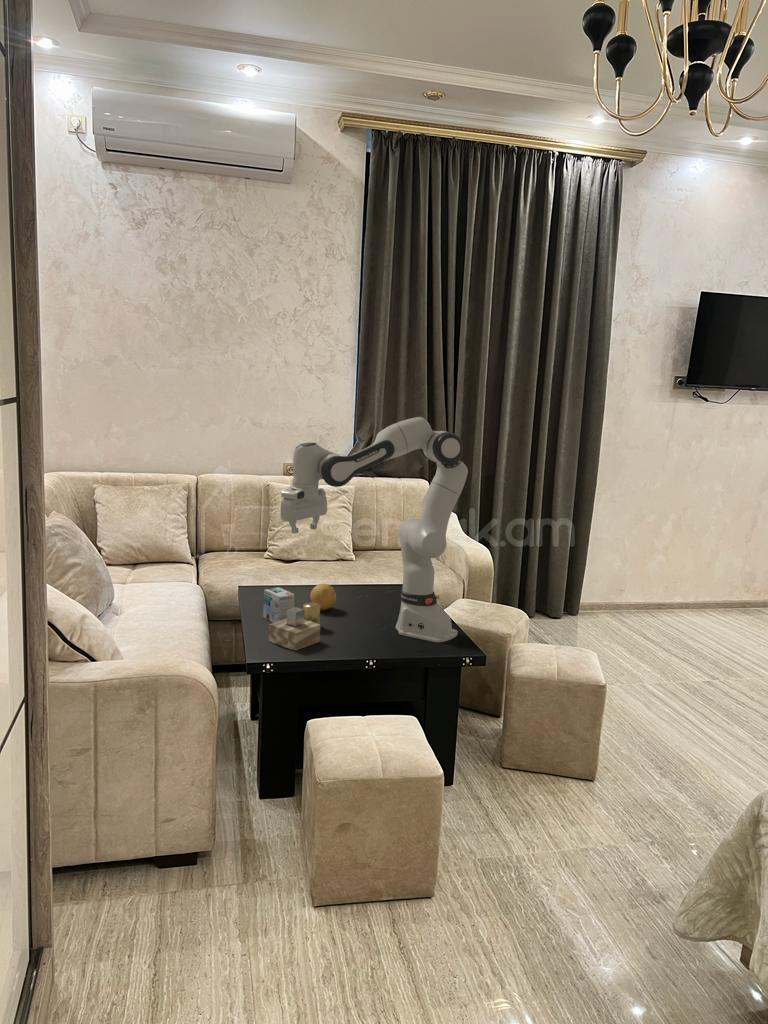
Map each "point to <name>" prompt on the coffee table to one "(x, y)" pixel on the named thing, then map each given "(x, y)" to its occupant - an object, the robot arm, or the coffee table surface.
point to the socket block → (294, 634)
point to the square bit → (295, 617)
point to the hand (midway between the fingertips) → (304, 531)
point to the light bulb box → (277, 604)
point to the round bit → (312, 612)
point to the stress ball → (323, 596)
